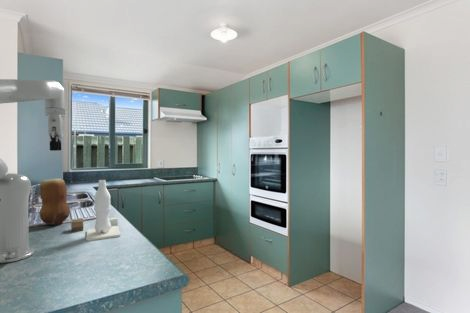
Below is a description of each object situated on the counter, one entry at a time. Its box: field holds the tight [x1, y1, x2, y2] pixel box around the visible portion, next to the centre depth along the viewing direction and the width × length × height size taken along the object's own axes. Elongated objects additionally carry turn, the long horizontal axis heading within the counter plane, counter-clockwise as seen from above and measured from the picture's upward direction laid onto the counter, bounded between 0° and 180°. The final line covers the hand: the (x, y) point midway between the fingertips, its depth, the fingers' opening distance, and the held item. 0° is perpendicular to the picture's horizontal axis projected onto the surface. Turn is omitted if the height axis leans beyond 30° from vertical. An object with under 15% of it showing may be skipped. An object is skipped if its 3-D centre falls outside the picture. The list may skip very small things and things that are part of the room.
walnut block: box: [70, 218, 84, 233], centre depth 136 cm, size 5×5×5 cm
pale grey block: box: [109, 217, 119, 227], centre depth 144 cm, size 4×4×4 cm
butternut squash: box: [39, 178, 71, 226], centre depth 146 cm, size 14×13×25 cm
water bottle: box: [93, 179, 112, 233], centre depth 129 cm, size 7×7×25 cm
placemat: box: [85, 225, 121, 242], centre depth 130 cm, size 16×14×1 cm
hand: (55, 150), depth 123 cm, fingers open, 9 cm apart
